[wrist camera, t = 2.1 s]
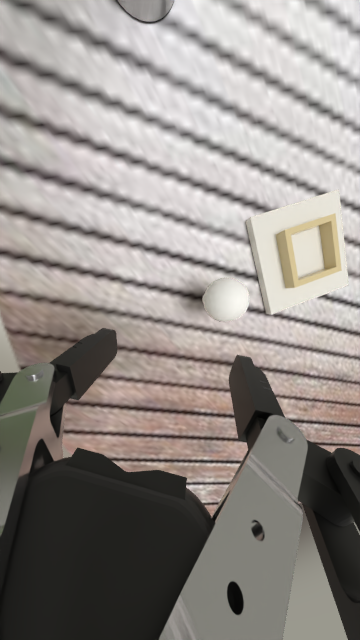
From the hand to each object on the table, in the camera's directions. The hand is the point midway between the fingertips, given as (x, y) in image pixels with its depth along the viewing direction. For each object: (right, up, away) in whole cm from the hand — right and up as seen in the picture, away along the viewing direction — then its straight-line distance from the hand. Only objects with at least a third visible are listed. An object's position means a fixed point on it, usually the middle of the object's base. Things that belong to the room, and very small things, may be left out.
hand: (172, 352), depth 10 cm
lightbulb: (+6, +6, +19) cm, 21 cm away
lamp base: (+24, +15, +20) cm, 35 cm away
